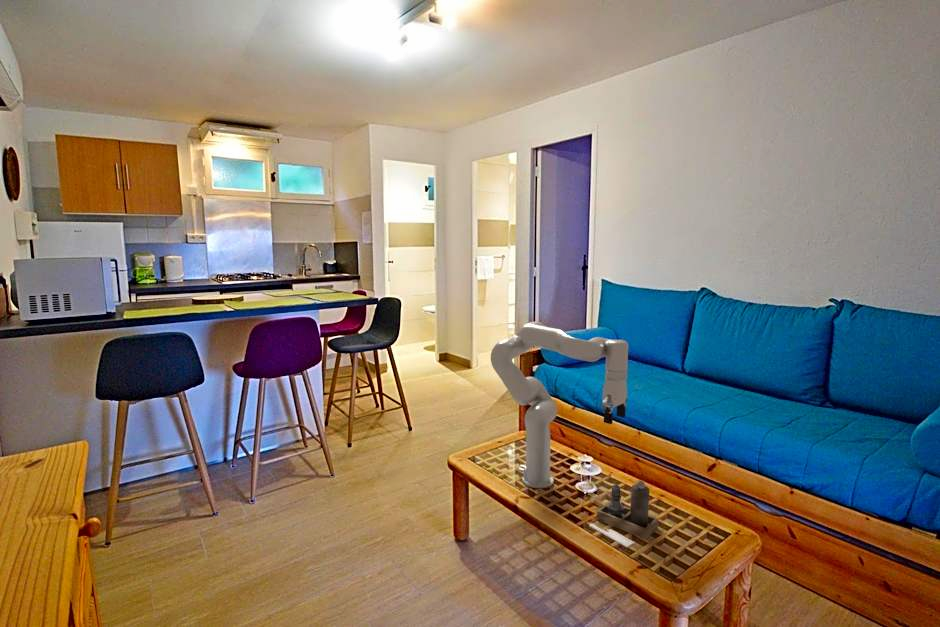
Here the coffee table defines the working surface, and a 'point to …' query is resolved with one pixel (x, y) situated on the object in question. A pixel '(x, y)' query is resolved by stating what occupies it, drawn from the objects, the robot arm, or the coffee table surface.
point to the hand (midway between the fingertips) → (614, 419)
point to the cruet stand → (633, 514)
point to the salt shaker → (615, 502)
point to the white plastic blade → (614, 536)
